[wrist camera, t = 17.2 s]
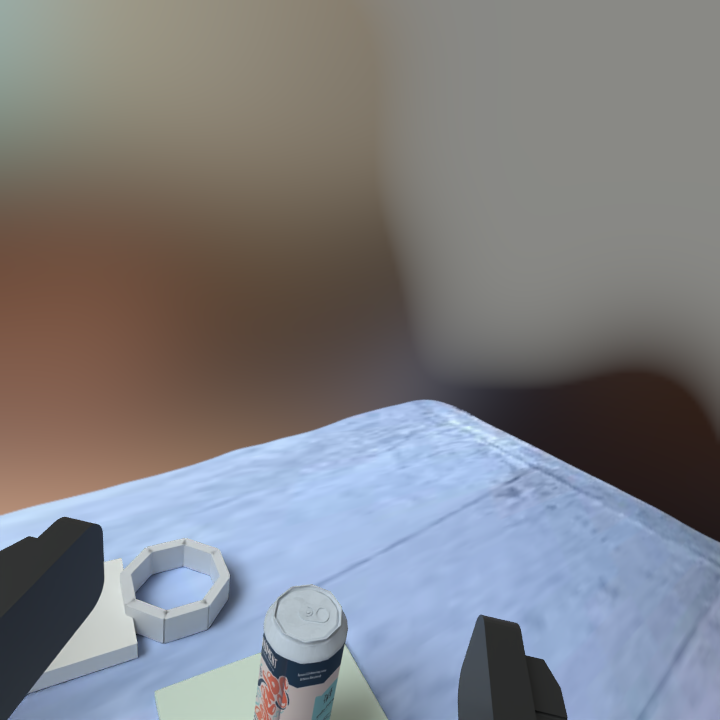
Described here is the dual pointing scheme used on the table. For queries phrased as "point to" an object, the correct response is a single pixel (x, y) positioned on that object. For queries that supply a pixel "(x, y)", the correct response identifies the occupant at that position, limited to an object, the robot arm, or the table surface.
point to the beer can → (300, 655)
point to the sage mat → (239, 689)
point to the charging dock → (139, 611)
